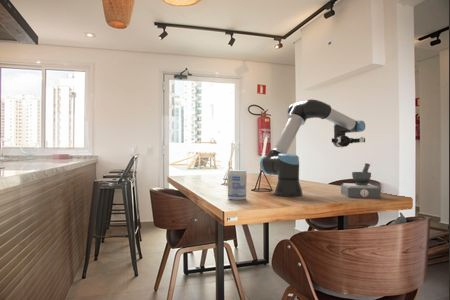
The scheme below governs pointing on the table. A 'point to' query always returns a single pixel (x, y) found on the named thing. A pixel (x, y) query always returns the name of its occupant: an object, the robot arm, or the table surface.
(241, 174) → the supplement tub
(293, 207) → the table surface
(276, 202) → the table surface
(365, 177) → the mortar and pestle
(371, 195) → the kitchen scale
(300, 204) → the table surface
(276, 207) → the table surface
